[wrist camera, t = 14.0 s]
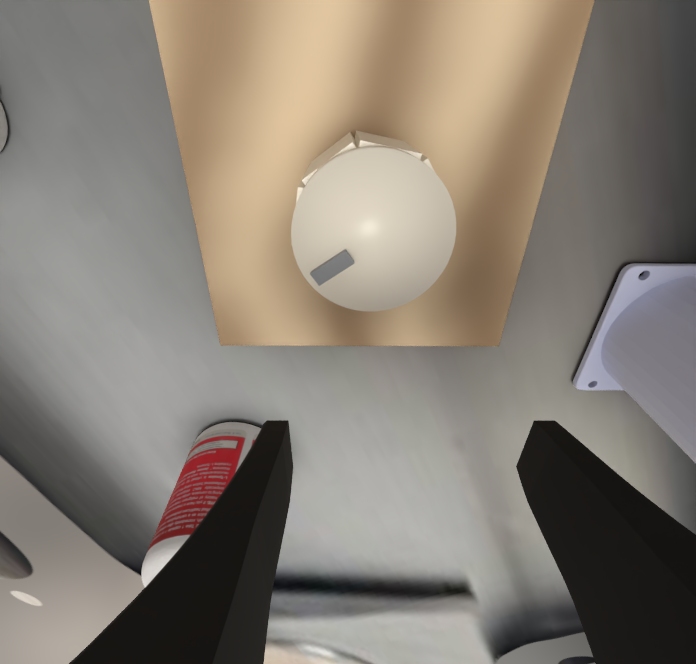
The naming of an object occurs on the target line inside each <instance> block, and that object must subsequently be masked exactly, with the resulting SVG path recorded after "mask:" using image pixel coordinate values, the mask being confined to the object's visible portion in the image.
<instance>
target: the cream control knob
mask: <svg viewBox="0 0 696 664" xmlns="http://www.w3.org/2000/svg"><path fill="white" fill-rule="evenodd" d="M455 238H456V215H455V210H454V206H453V202H452V199H451V197H450V194H449V192H448V190H447V188H446V187H445V185H444V183H443V182H442V180H441V179H440V178H439V177H438V176H437V174H436V173H435V171H434V169H433V167H432V165H431V163H430V161H429V159H428V158H427V157H425V156H424V155H422V153H420V152H419V151H417V150H416V149H414V148H413V147H411V146H410V145H408V144H407V143H405V142H404V141H402V140H397V139H393V138H388V137H383V136H379V135H374V134H370V133H365V132H361V131H356V133H355V139H354V137H353V136H352V134H351V132H349V133H348V134H347V135H345V136H344V137H343V138H341V139H340V140H339V141H337V142H336V143H335V144H334V145H332V146H331V147H330V148H328V149H327V150H326V151H324V152H323V153H322V154H321V155H319V156H318V157H317V158H315V159H314V160H313V161H311V163H310V165H309V167H308V169H307V171H306V172H305V174H304V176H303V178H302V180H301V182H300V184H299V186H298V190H297V199H296V207H295V210H294V213H293V218H292V224H291V241H292V242H291V245H292V248H293V252H294V256H295V259H296V262H297V265H298V267H299V269H300V270H301V272H302V274H303V276H304V277H305V278H306V280H307V281H308V283H309V284H310V285H311V286H312V287H313V288H314V289H315V290H316V291H317V292H318V293H320V294H321V295H322V296H323V297H325V298H326V299H328V300H329V301H331V302H333V303H335V304H337V305H340V306H342V307H345V308H348V309H353V310H358V311H383V310H388V309H392V308H396V307H399V306H401V305H404V304H406V303H408V302H410V301H412V300H414V299H415V298H417V297H419V296H420V295H422V294H423V293H424V292H425V291H426V290H428V289H429V288H430V287H431V286H432V285H433V284H434V283H435V282H436V280H437V279H438V278H439V276H440V275H441V274H442V272H443V271H444V269H445V267H446V266H447V264H448V261H449V259H450V257H451V254H452V251H453V248H454V244H455Z"/></svg>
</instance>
